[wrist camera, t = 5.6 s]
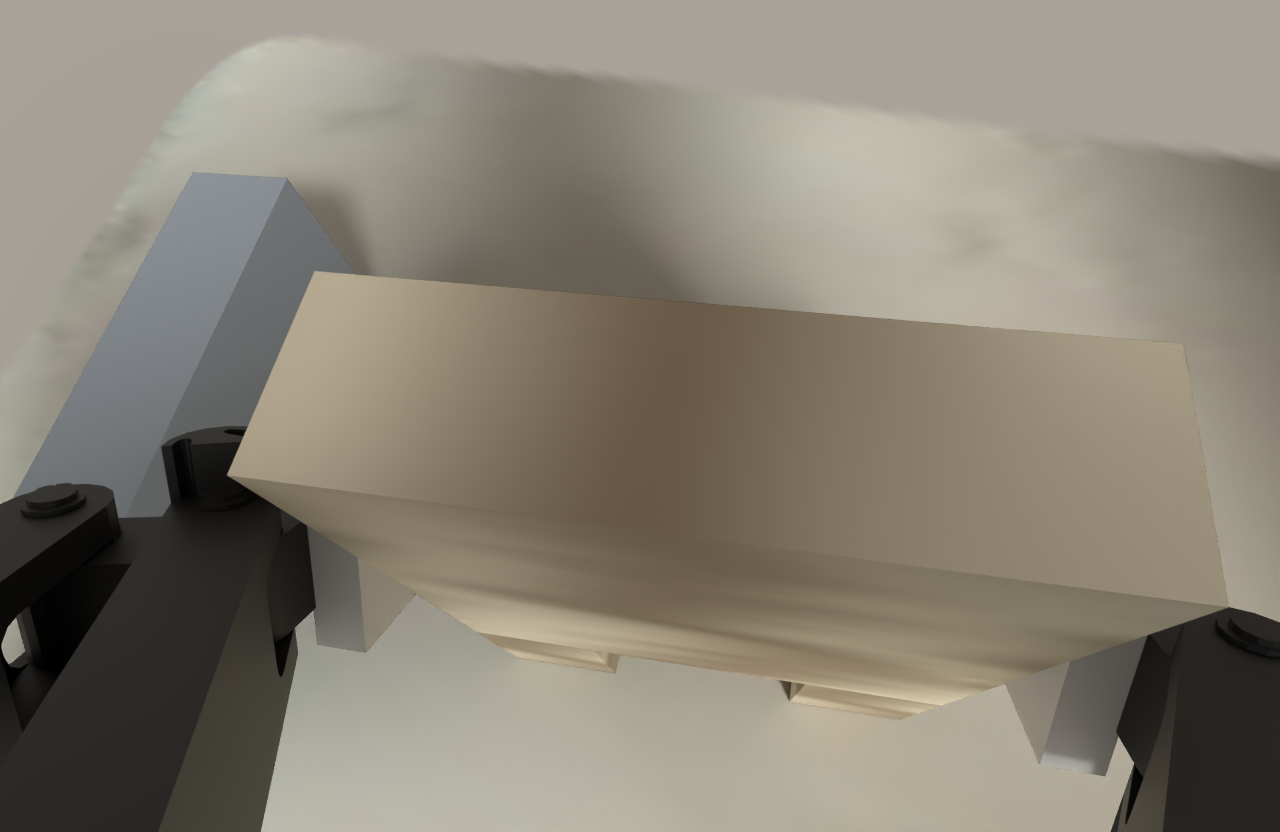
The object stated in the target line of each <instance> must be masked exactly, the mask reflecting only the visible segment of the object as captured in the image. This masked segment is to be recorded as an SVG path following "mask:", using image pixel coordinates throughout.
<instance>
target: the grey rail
mask: <svg viewBox="0 0 1280 832" xmlns="http://www.w3.org/2000/svg"><path fill="white" fill-rule="evenodd" d="M314 271H319V272H331V273H343V274H355V273H354V272H353V270H352V269H351V267H350V266H349V265H348V263H347V262H346V260H345V259H344V258H343V256H342V255H341V253H340V252H339V250H338V249H337V248H336V246H335V245H334V243H333V242H332V241H331V239H330V238H329V236H328V235H327V234H326V232H325V231H324V229H323V228H322V227H321V225H320V224H319V222H318V221H317V220H316V218H315V217H314V215H313V214H312V212H311V211H310V210H309V208H308V207H307V205H306V204H305V203H304V201H303V200H302V198H301V197H300V196H299V194H298V193H297V191H296V190H295V189H294V187H293V186H292V184H291V183H290V182H289V180H288V179H287V178H275V177H259V176H243V175H227V174H211V173H195V172H193V173H192V175H191V177H190V179H189V180H188V182H187V184H186V186H185V188H184V190H183V191H182V193H181V195H180V197H179V199H178V200H177V202H176V204H175V206H174V208H173V209H172V211H171V213H170V215H169V217H168V219H167V220H166V222H165V224H164V226H163V228H162V229H161V231H160V233H159V235H158V237H157V238H156V240H155V242H154V244H153V246H152V248H151V249H150V251H149V253H148V255H147V257H146V258H145V260H144V262H143V264H142V266H141V267H140V269H139V271H138V273H137V275H136V277H135V278H134V280H133V282H132V284H131V286H130V287H129V289H128V291H127V293H126V295H125V296H124V298H123V300H122V302H121V304H120V305H119V307H118V309H117V311H116V313H115V315H114V316H113V318H112V320H111V322H110V324H109V325H108V327H107V329H106V331H105V333H104V334H103V336H102V338H101V340H100V342H99V344H98V345H97V347H96V349H95V351H94V353H93V354H92V356H91V358H90V360H89V362H88V363H87V365H86V367H85V369H84V371H83V373H82V374H81V376H80V378H79V380H78V382H77V383H76V385H75V387H74V389H73V391H72V392H71V394H70V396H69V398H68V400H67V402H66V403H65V405H64V407H63V409H62V411H61V412H60V414H59V416H58V418H57V420H56V421H55V423H54V425H53V427H52V429H51V431H50V432H49V434H48V436H47V438H46V440H45V441H44V443H43V445H42V447H41V449H40V450H39V452H38V454H37V456H36V458H35V460H34V461H33V463H32V465H31V467H30V469H29V470H28V472H27V474H26V476H25V478H24V479H23V481H22V483H21V485H20V487H19V488H18V490H17V492H16V494H15V496H14V498H15V497H17V496H20V495H23V494H26V493H30V492H33V491H35V490H37V489H38V488H40V487H43V486H48V485H53V486H55V485H56V484H61V483H71V484H93V485H102V486H105V487H107V488H109V489H111V490H113V493H114V498H115V503H116V508H117V513H118V518H133V517H162V516H163V515H164V513H165V511H166V510H167V508H168V507H169V505H170V504H171V501H170V495H169V489H168V484H167V478H166V472H165V467H164V461H163V456H162V450H161V446H162V445H163V444H164V443H166V442H167V441H168V440H170V439H172V438H174V437H177V436H180V435H182V434H185V433H188V432H192V431H197V430H201V429H206V428H214V427H223V426H248V425H249V423H250V420H251V418H252V416H253V413H254V411H255V409H256V406H257V404H258V402H259V399H260V397H261V395H262V392H263V390H264V388H265V385H266V383H267V381H268V378H269V376H270V374H271V371H272V369H273V367H274V364H275V362H276V360H277V357H278V355H279V353H280V351H281V348H282V346H283V344H284V341H285V339H286V337H287V334H288V332H289V330H290V327H291V325H292V323H293V320H294V318H295V316H296V313H297V311H298V309H299V306H300V304H301V302H302V299H303V297H304V295H305V292H306V290H307V288H308V285H309V283H310V281H311V278H312V276H313V274H314ZM355 275H356V274H355Z"/></svg>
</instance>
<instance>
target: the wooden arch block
mask: <svg viewBox="0 0 1280 832" xmlns="http://www.w3.org/2000/svg"><path fill="white" fill-rule="evenodd" d="M227 476H229V477H231V478H232V479H234V480H235V481H237V482H239V483H240V484H242V485H243V486H245V487H247V488H248V489H250V490H251V491H253V492H255V493H256V494H258V495H259V496H261V497H262V498H264V499H266V500H267V501H269V502H270V503H272V504H274V505H275V506H277V507H278V508H280V509H282V510H283V511H285V512H286V513H288V514H290V515H291V516H293V517H294V518H296V519H298V520H299V521H301V522H302V523H304V524H306V525H307V526H309V527H310V528H312V529H313V530H315V531H317V532H318V533H320V534H321V535H323V536H325V537H326V538H328V539H329V540H331V541H333V542H334V543H336V544H337V545H339V546H341V547H342V548H344V549H345V550H347V551H349V552H350V553H352V554H353V555H355V556H357V557H359V558H361V559H362V560H364V561H365V562H367V563H368V564H370V565H372V566H373V567H375V568H376V569H378V570H380V571H381V572H383V573H384V574H386V575H388V576H389V577H391V578H392V579H394V580H395V581H397V582H399V583H400V584H402V585H403V586H405V587H407V588H408V589H410V590H411V591H413V592H415V593H416V594H417V595H419V596H420V597H422V598H423V599H425V600H427V601H428V602H430V603H431V604H433V605H435V606H436V607H438V608H439V609H441V610H442V611H444V612H446V613H447V614H449V615H450V616H452V617H454V618H455V619H457V620H458V621H460V622H462V623H463V624H465V625H466V626H468V627H470V628H471V629H473V630H474V631H476V632H478V633H479V634H481V635H482V636H484V637H485V638H487V639H489V640H490V641H492V642H493V643H495V644H497V645H498V646H500V647H501V648H503V649H505V650H506V651H508V652H509V653H511V654H513V655H514V656H516V657H519V658H525V659H531V660H537V661H543V662H549V663H556V664H562V665H568V666H574V667H580V668H586V669H592V670H599V671H605V672H611V673H615V672H616V666H617V660H618V654H619V655H625V656H631V657H638V658H644V659H650V660H657V661H663V662H669V663H675V664H682V665H688V666H694V667H701V668H707V669H713V670H720V671H726V672H732V673H738V674H745V675H751V676H757V677H764V678H770V679H776V680H783V681H789V682H791V690H790V702H795V703H801V704H807V705H814V706H820V707H826V708H832V709H838V710H844V711H850V712H857V713H863V714H869V715H875V716H881V717H887V718H893V719H903V718H906V717H909V716H912V715H915V714H918V713H921V712H924V711H927V710H930V709H933V708H936V707H938V706H941V705H944V704H947V703H950V702H953V701H956V700H959V699H962V698H965V697H968V696H971V695H974V694H977V693H979V692H982V691H985V690H988V689H991V688H994V687H997V686H1000V685H1003V684H1005V683H1007V682H1010V681H1013V680H1016V679H1019V678H1022V677H1024V676H1027V675H1030V674H1033V673H1036V672H1039V671H1042V670H1045V669H1048V668H1051V667H1054V666H1056V665H1059V664H1062V663H1065V662H1068V661H1073V660H1076V659H1079V658H1082V657H1085V656H1088V655H1091V654H1094V653H1097V652H1100V651H1103V650H1105V649H1108V648H1111V647H1114V646H1117V645H1120V644H1123V643H1126V642H1129V641H1132V640H1135V639H1138V638H1141V637H1144V636H1146V635H1149V634H1152V633H1155V632H1158V631H1161V630H1164V629H1167V628H1170V627H1173V626H1176V625H1179V624H1182V623H1185V622H1187V621H1190V620H1193V619H1196V618H1199V617H1202V616H1205V615H1208V614H1211V613H1214V612H1217V611H1220V610H1223V609H1226V608H1229V605H1228V599H1227V593H1226V587H1225V582H1224V576H1223V570H1222V564H1221V558H1220V553H1219V547H1218V541H1217V535H1216V529H1215V524H1214V518H1213V512H1212V506H1211V500H1210V495H1209V489H1208V483H1207V477H1206V471H1205V466H1204V460H1203V454H1202V448H1201V442H1200V437H1199V431H1198V425H1197V419H1196V413H1195V408H1194V402H1193V396H1192V390H1191V384H1190V379H1189V373H1188V367H1187V361H1186V355H1185V350H1184V344H1182V343H1170V342H1158V341H1146V340H1134V339H1122V338H1110V337H1098V336H1086V335H1074V334H1062V333H1050V332H1038V331H1026V330H1014V329H1002V328H990V327H978V326H966V325H954V324H942V323H930V322H918V321H906V320H894V319H882V318H870V317H858V316H846V315H834V314H822V313H810V312H798V311H786V310H774V309H763V308H751V307H739V306H727V305H715V304H703V303H691V302H679V301H667V300H655V299H643V298H631V297H619V296H607V295H595V294H583V293H571V292H559V291H547V290H535V289H523V288H511V287H499V286H487V285H475V284H463V283H451V282H439V281H427V280H415V279H403V278H391V277H379V276H367V275H355V274H343V273H331V272H319V271H314V274H313V276H312V278H311V281H310V283H309V285H308V288H307V290H306V292H305V295H304V297H303V299H302V302H301V304H300V306H299V309H298V311H297V313H296V316H295V318H294V320H293V323H292V325H291V327H290V330H289V332H288V334H287V337H286V339H285V341H284V344H283V346H282V348H281V351H280V353H279V355H278V357H277V360H276V362H275V364H274V367H273V369H272V371H271V374H270V376H269V378H268V381H267V383H266V385H265V388H264V390H263V392H262V395H261V397H260V399H259V402H258V404H257V406H256V409H255V411H254V413H253V416H252V418H251V420H250V423H249V425H248V427H247V430H246V432H245V434H244V437H243V439H242V441H241V444H240V446H239V448H238V451H237V453H236V455H235V458H234V460H233V462H232V465H231V467H230V469H229V472H228V474H227Z"/></svg>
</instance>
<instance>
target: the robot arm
mask: <svg viewBox="0 0 1280 832" xmlns="http://www.w3.org/2000/svg"><path fill="white" fill-rule="evenodd" d="M247 427H248V426H223V427H214V428H206V429H201V430H197V431H192V432H188V433H185V434H182V435H180V436H177V437H174V438H172V439H170V440H168V441H167V442H166V443H164V444H163V445H162V446H161V450H162V456H163V461H164V467H165V472H166V478H167V484H168V489H169V495H170V501H171V504H170V505H169V507H168V508H167V510H166V511H165V513H164V515H163V516H162V517H133V518H118V513H117V508H116V503H115V498H114V493H113V490H111V489H109V488H107V487H105V486H102V485H93V484H71V483H61V484H56V485H55V486H53V485H48V486H43V487H40V488H38V489H37V490H35V491H33V492H30V493H26V494H23V495H20V496H17V497H15V498H13V499H11V500H9V501H6V502H4V503H2V504H0V832H261V828H262V823H263V818H264V813H265V809H266V804H267V799H268V794H269V789H270V785H271V780H272V775H273V770H274V766H275V761H276V756H277V751H278V746H279V742H280V737H281V732H282V727H283V723H284V718H285V713H286V708H287V703H288V699H289V694H290V689H291V684H292V680H293V675H294V670H295V665H296V660H297V656H298V649H297V641H296V633H295V627H296V626H297V625H298V624H299V623H300V622H301V621H302V620H303V619H304V618H305V617H307V616H308V615H309V614H310V613H311V612H312V611H313V610H314V618H315V627H316V636H317V645H323V646H329V647H335V648H341V649H347V650H353V651H359V652H365V653H366V652H367V651H368V650H369V649H370V647H371V646H372V645H373V644H374V643H375V641H376V640H377V639H378V638H379V637H380V636H381V634H382V633H383V632H384V631H385V630H386V628H387V627H388V626H389V625H390V624H391V623H392V621H393V620H394V619H395V618H396V617H397V616H398V614H399V613H400V612H401V611H402V610H403V608H404V607H405V606H406V605H407V604H408V603H409V601H410V600H411V599H412V598H413V597H414V595H415V594H416V593H415V592H413V591H411V590H410V589H408V588H407V587H405V586H403V585H402V584H400V583H399V582H397V581H395V580H394V579H392V578H391V577H389V576H388V575H386V574H384V573H383V572H381V571H380V570H378V569H376V568H375V567H373V566H372V565H370V564H368V563H367V562H365V561H364V560H362V559H361V558H359V557H357V556H355V555H353V554H352V553H350V552H349V551H347V550H345V549H344V548H342V547H341V546H339V545H337V544H336V543H334V542H333V541H331V540H329V539H328V538H326V537H325V536H323V535H321V534H320V533H318V532H317V531H315V530H313V529H312V528H310V527H309V526H307V525H306V524H304V523H302V522H301V521H299V520H298V519H296V518H294V517H293V516H291V515H290V514H288V513H286V512H285V511H283V510H282V509H280V508H278V507H277V506H275V505H274V504H272V503H270V502H269V501H267V500H266V499H264V498H262V497H261V496H259V495H258V494H256V493H255V492H253V491H251V490H250V489H248V488H247V487H245V486H243V485H242V484H240V483H239V482H237V481H235V480H234V479H232V478H231V477H229V476H227V474H228V472H229V469H230V467H231V465H232V462H233V460H234V458H235V455H236V453H237V451H238V448H239V446H240V444H241V441H242V439H243V437H244V434H245V432H246V430H247ZM15 618H17V622H18V626H19V629H20V633H21V637H22V640H23V644H24V648H25V652H24V653H23V654H22V655H21V656H19V657H18V658H17V659H16V660H15V661H14V662H12V663H10V664H8V663H7V661H6V660H5V658H4V656H3V652H2V649H1V644H2V641H3V638H4V636H5V633H6V630H7V627H8V626H9V625H10V624H11V623H12V621H13V620H14V619H15ZM1005 685H1006V687H1007V689H1008V692H1009V694H1010V696H1011V699H1012V701H1013V703H1014V706H1015V708H1016V711H1017V713H1018V715H1019V718H1020V720H1021V722H1022V725H1023V727H1024V729H1025V732H1026V734H1027V737H1028V739H1029V741H1030V744H1031V746H1032V748H1033V751H1034V753H1035V755H1036V758H1037V760H1038V763H1039V765H1041V766H1047V767H1053V768H1059V769H1065V770H1071V771H1077V772H1083V773H1089V774H1095V775H1101V776H1105V775H1106V772H1107V769H1108V766H1109V763H1110V760H1111V757H1112V754H1113V751H1114V748H1115V745H1116V742H1117V739H1118V736H1119V738H1120V739H1121V741H1122V743H1123V745H1124V746H1125V748H1126V750H1127V751H1128V753H1129V755H1130V757H1131V758H1132V760H1133V762H1134V766H1133V769H1132V772H1131V774H1130V777H1129V780H1128V783H1127V786H1126V789H1125V792H1124V795H1123V798H1122V801H1121V803H1120V806H1119V809H1118V812H1117V815H1116V818H1115V821H1114V824H1113V827H1112V830H1111V832H1280V623H1279V622H1277V621H1274V620H1271V619H1269V618H1266V617H1263V616H1261V615H1258V614H1255V613H1251V612H1247V611H1243V610H1239V609H1234V608H1230V607H1229V608H1226V609H1223V610H1220V611H1217V612H1214V613H1211V614H1208V615H1205V616H1202V617H1199V618H1196V619H1193V620H1190V621H1187V622H1185V623H1182V624H1179V625H1176V626H1173V627H1170V628H1167V629H1164V630H1161V631H1158V632H1155V633H1152V634H1149V635H1146V636H1144V637H1141V638H1138V639H1135V640H1132V641H1129V642H1126V643H1123V644H1120V645H1117V646H1114V647H1111V648H1108V649H1105V650H1103V651H1100V652H1097V653H1094V654H1091V655H1088V656H1085V657H1082V658H1079V659H1076V660H1073V661H1068V662H1065V663H1062V664H1059V665H1056V666H1054V667H1051V668H1048V669H1045V670H1042V671H1039V672H1036V673H1033V674H1030V675H1027V676H1024V677H1022V678H1019V679H1016V680H1013V681H1010V682H1007V683H1005Z"/></svg>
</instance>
